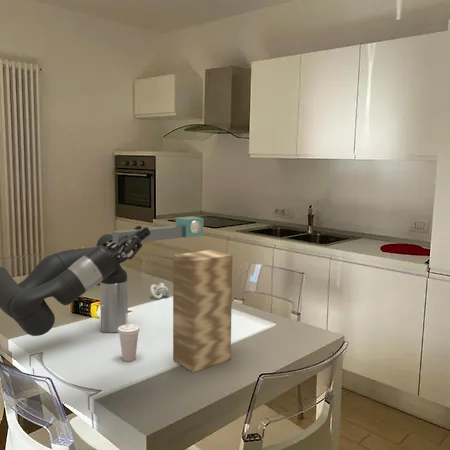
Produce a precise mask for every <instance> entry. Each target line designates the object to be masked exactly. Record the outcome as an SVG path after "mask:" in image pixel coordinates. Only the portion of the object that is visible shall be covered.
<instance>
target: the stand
mask: <svg viewBox="0 0 450 450" xmlns="http://www.w3.org/2000/svg"><path fill="white" fill-rule="evenodd" d="M172 292H173V293H172V296H173V297H172V312H173V313H172V319H173V320H172V323H173V324H172V328H173V329H172V361H173V360H174V361H173V362H175V363H176V362H177V363H176V364H178V363H179V364H178V365H180V366H182V367H183V368H185V369H187V370H189V371H191V372H192V373H195V372H198V371H201V370H204V369H206V368H209V367H213V366H215V365H218V364H220V363H221V364H222V363H225V362H227V361H229V360H231V358H232V357H231V355H232V354H231V353H232V351H231V350H232V349H231V348H232V309H233V308H232V306H233V305H232V302H233V301H232V298H233V296H232V295H233V254H230V253H226V252H221V251H217V250H215V249H214V250H213V249H206V250H201V251H193V252H186V253H179V254H178V253H177V254H173V255H172Z"/></svg>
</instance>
